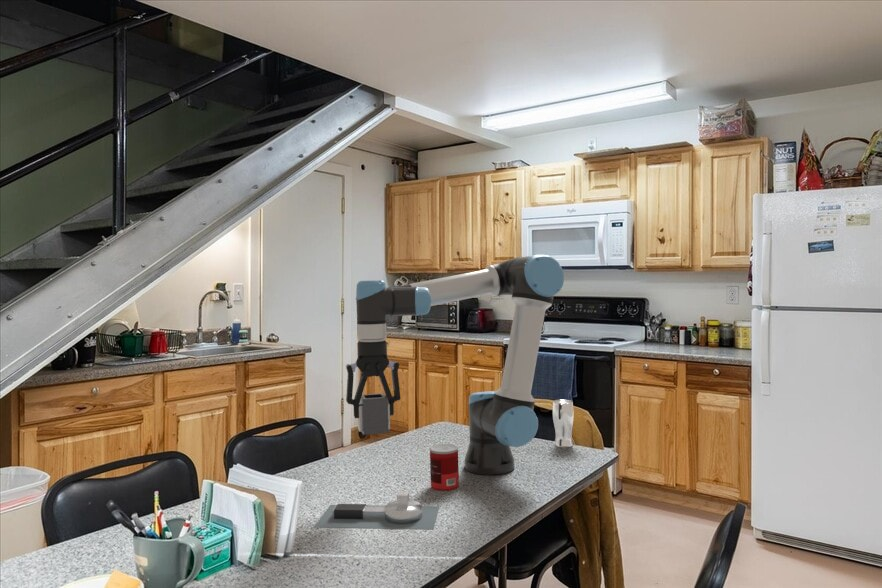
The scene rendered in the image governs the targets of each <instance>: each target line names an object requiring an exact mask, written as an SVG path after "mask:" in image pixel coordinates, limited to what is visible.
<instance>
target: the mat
mask: <svg viewBox="0 0 882 588" xmlns="http://www.w3.org/2000/svg"><path fill="white" fill-rule="evenodd" d="M337 505H338V504H330V505H329V506H328V507H327V509H326V510H325V511H324V512H323V514H322V515H321V516H320V517H319V519H318V520H317V522H316V523H315V524H314V525H313V527H312V528H315V529H316V528H317V529H320V528H322V529H323V528H324V529H326V528H327V529H373V530H374V529H378V530H380V529H381V530H428V531H429V530H434V529H435V525H436V522H437V517H438V513H439V510H440V505H437V506H435V505H422V518H421V519H420V520H419V521H417V522H414V523H410V524H393V523H389V522H387V521H386V520H385V519H334V518H332V510H333V509H334V508H335V506H337ZM366 506H381V507H385V506H386V505H373V504H371V505H370V504H369V505H367V504H366Z"/></svg>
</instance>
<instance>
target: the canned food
mask: <svg viewBox="0 0 882 588" xmlns="http://www.w3.org/2000/svg"><path fill="white" fill-rule="evenodd" d="M429 465H430V466H429V467H430V468H429V470H430V487H431V489H432V490H435V491H441V492H443V491H444V492H447V491H448V492H449V491H452V490H458V487H459V485H460V482H459V481H460V479H459V478H460V477H459V449H458V446H457V445H454V444H450V443H442V444H441V443H439V444H436V445H432V446H431V447H429Z"/></svg>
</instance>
